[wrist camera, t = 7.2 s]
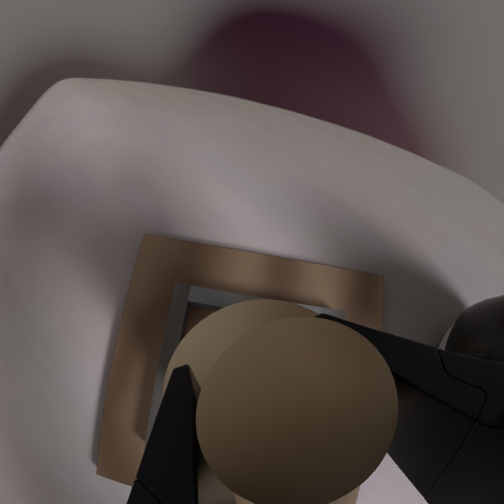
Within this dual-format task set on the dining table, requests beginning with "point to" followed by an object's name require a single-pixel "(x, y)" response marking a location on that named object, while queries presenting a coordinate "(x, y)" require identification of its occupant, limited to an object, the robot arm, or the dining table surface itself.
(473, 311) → the black egg-shaped body
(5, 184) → the dining table surface
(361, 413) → the wooden peg
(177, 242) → the board
